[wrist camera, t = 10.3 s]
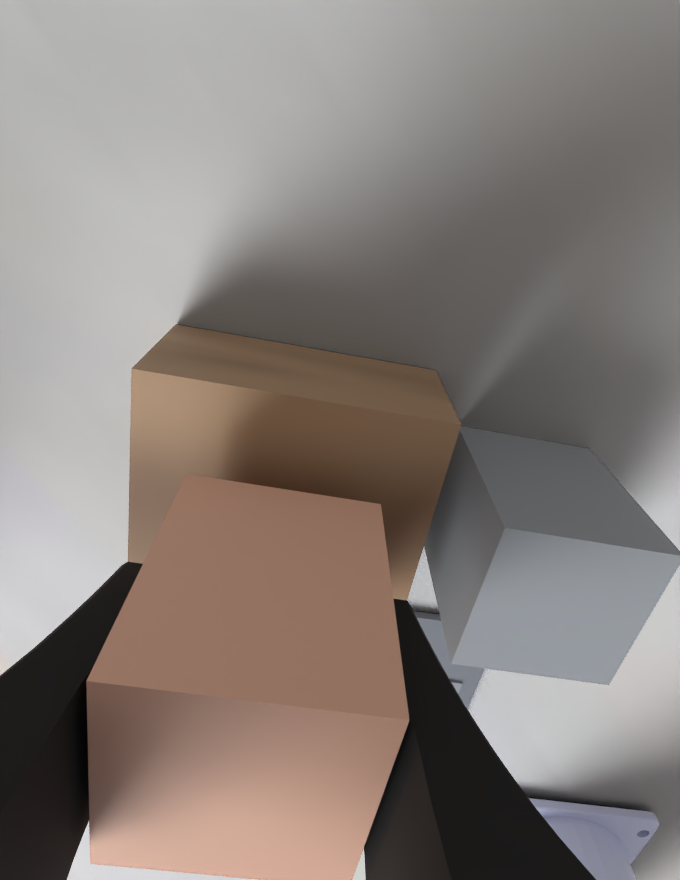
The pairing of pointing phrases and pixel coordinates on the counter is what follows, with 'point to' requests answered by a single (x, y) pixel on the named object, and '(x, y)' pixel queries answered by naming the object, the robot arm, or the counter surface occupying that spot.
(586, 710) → the counter surface
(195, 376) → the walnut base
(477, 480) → the grey block
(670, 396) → the counter surface
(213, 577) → the terracotta block
